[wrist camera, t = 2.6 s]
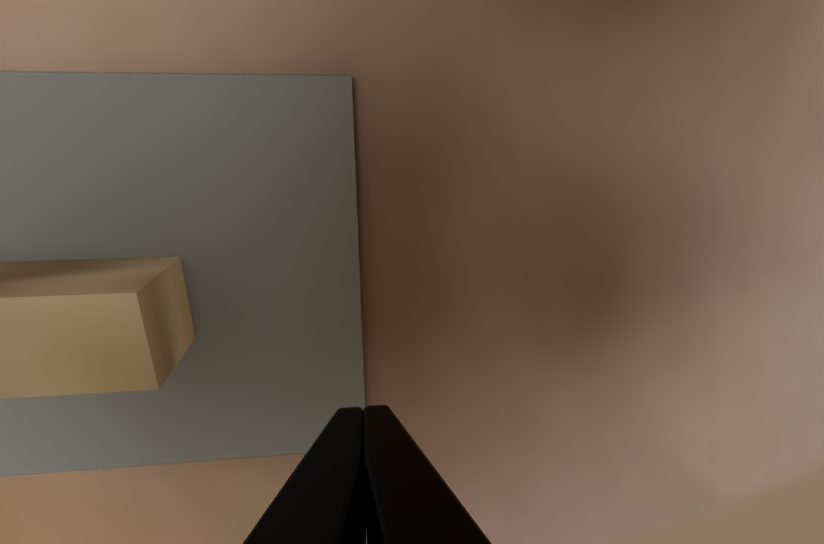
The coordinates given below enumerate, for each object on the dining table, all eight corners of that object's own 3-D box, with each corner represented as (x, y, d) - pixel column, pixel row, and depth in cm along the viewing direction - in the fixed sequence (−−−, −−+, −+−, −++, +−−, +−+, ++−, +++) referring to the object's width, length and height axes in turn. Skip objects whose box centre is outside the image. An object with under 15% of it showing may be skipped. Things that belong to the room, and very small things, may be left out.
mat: (352, 77, 12) (351, 76, 11) (366, 440, 16) (366, 448, 15) (-581, 65, 9) (-619, 64, 9) (-276, 488, 14) (-294, 499, 13)
